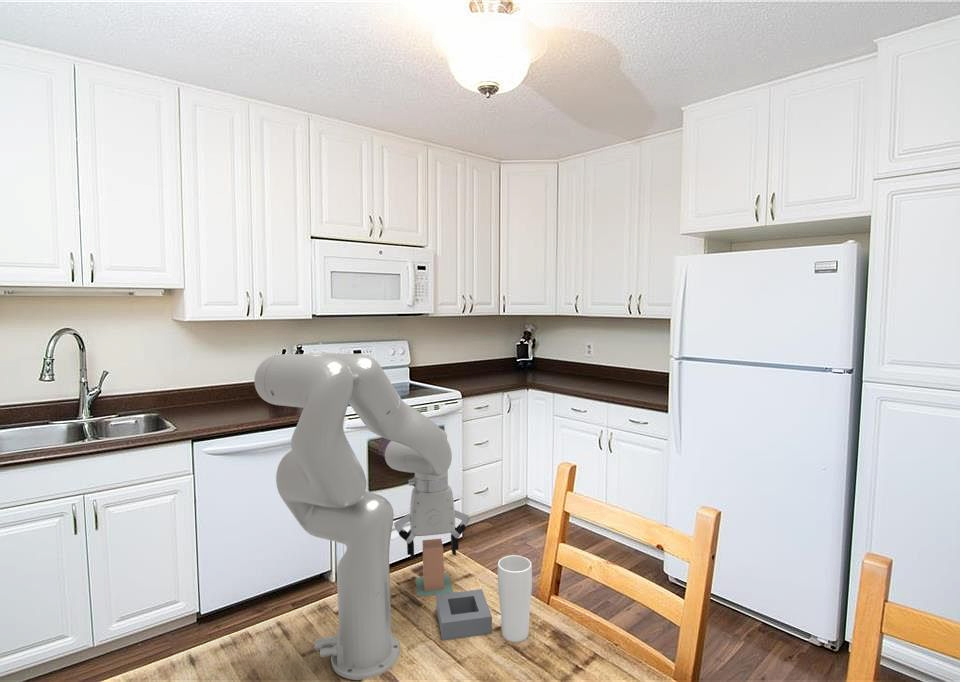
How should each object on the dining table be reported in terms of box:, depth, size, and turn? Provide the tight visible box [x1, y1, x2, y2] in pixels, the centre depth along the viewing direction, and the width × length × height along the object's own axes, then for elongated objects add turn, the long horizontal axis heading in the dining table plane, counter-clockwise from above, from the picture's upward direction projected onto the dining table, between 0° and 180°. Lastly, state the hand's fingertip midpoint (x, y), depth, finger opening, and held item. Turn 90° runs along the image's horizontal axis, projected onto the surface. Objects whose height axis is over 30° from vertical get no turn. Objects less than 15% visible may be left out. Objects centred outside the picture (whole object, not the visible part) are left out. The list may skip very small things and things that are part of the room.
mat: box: [415, 573, 454, 598], centre depth 121 cm, size 8×8×1 cm
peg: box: [422, 538, 445, 591], centre depth 121 cm, size 4×4×10 cm
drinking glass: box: [497, 554, 533, 643], centre depth 103 cm, size 7×7×15 cm
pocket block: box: [435, 588, 493, 641], centre depth 108 cm, size 10×10×4 cm
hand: (433, 554), depth 121 cm, fingers open, 9 cm apart
